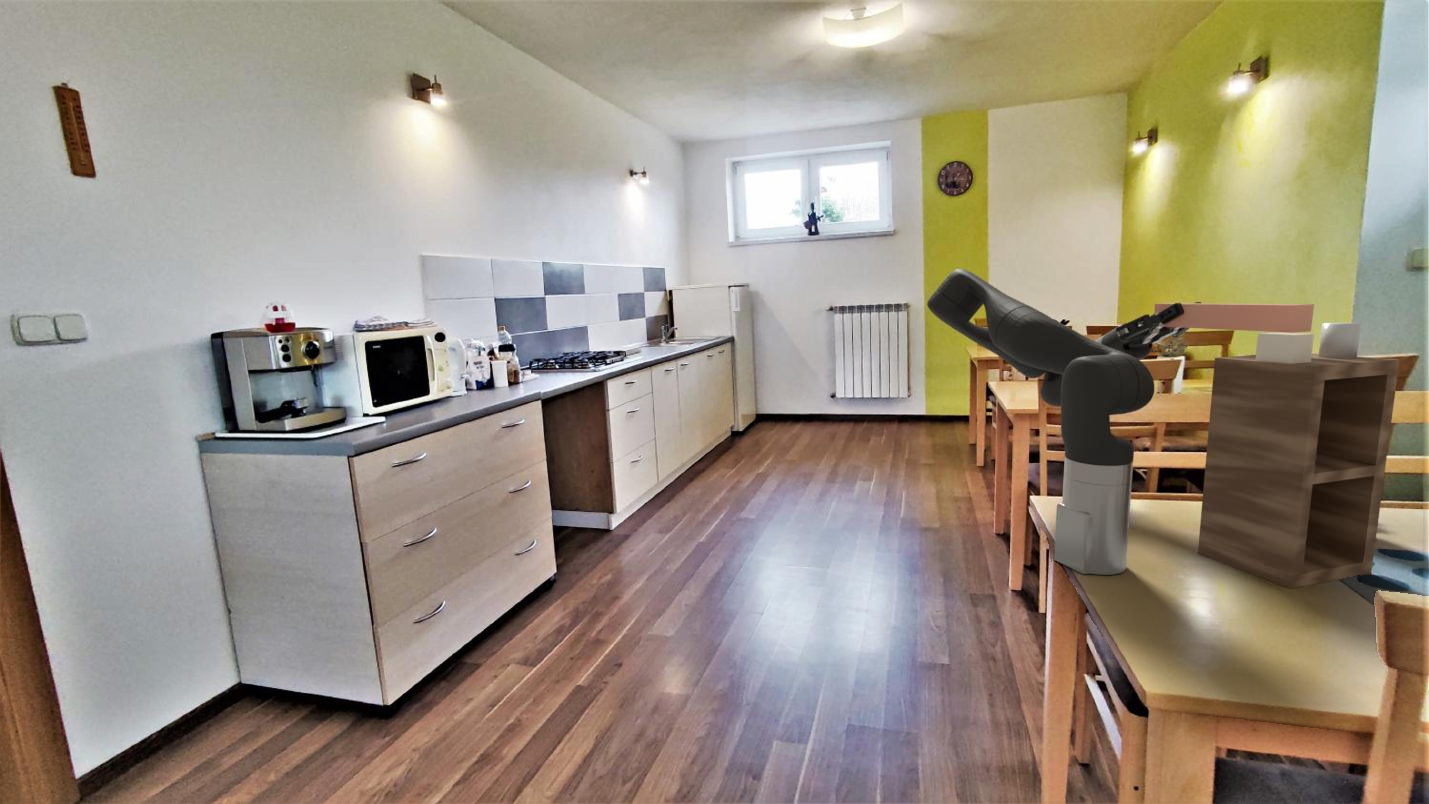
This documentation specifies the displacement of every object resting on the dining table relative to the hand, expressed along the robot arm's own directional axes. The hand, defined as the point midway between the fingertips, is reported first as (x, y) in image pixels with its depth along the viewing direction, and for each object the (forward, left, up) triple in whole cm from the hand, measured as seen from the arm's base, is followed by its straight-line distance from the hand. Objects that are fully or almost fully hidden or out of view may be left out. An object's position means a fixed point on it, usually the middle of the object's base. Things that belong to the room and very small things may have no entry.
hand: (1191, 307), depth 115 cm
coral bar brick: (0, -6, -3) cm, 7 cm away
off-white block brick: (-5, -19, -7) cm, 21 cm away
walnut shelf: (0, -18, -39) cm, 43 cm away
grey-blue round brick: (+5, -19, -7) cm, 21 cm away
